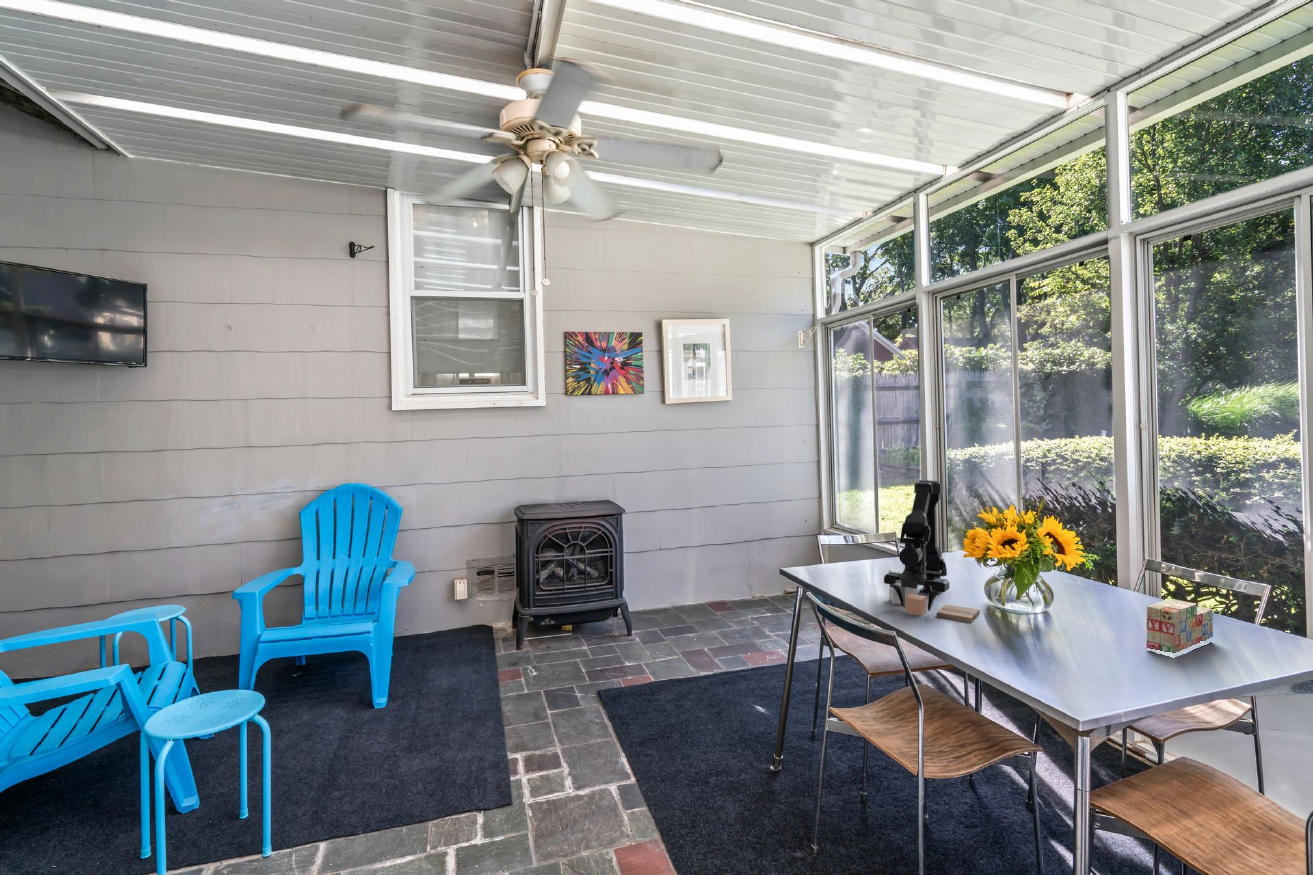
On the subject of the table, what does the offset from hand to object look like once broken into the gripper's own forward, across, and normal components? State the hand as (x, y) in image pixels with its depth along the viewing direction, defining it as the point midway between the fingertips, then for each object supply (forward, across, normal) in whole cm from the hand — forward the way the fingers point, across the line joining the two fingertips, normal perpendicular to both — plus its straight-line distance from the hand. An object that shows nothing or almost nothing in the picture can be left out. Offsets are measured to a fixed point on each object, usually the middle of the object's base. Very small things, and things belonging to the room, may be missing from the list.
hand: (916, 608), depth 206 cm
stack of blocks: (+2, +65, +9) cm, 66 cm away
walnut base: (+2, +12, +4) cm, 12 cm away
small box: (+2, -7, +9) cm, 12 cm away
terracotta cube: (+1, 0, 0) cm, 1 cm away
